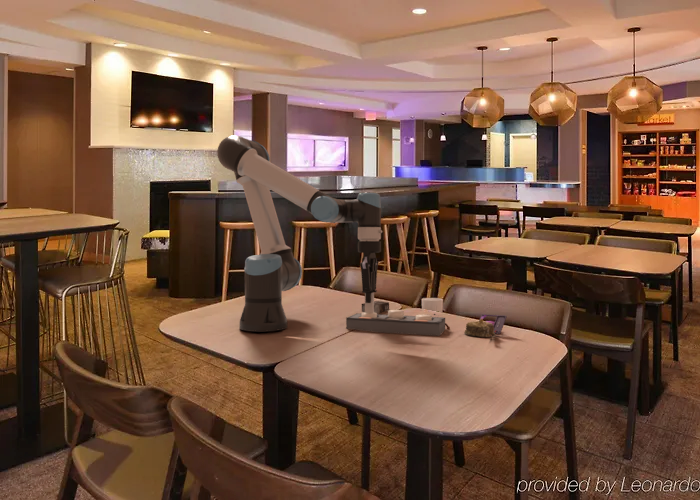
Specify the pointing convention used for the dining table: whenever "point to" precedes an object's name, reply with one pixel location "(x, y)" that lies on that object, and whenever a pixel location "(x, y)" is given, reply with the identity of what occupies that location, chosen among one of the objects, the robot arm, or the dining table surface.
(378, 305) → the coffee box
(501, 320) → the purple toy box
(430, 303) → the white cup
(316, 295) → the dining table surface
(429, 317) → the button right
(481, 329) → the beige textured round piece
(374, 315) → the button left
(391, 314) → the button middle
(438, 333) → the console
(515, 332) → the dining table surface
